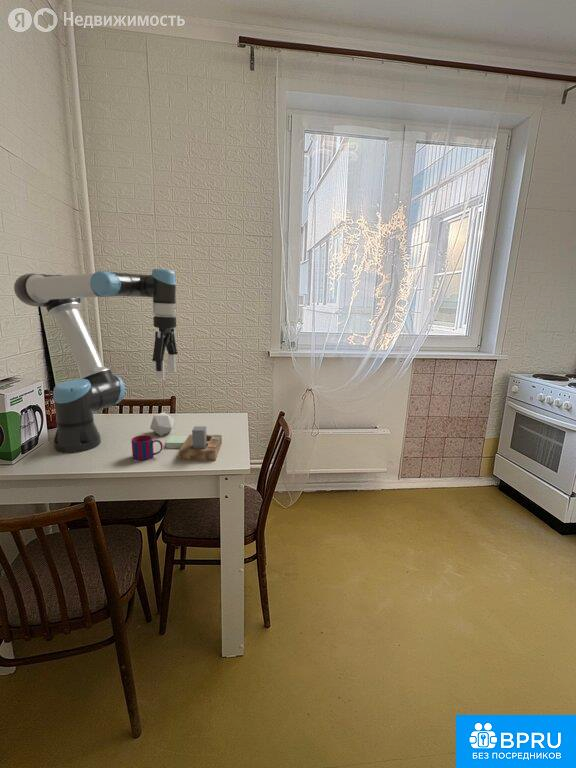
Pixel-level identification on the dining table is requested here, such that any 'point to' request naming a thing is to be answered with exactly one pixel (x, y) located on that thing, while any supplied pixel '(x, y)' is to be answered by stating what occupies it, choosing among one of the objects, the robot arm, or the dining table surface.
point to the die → (162, 423)
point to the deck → (176, 441)
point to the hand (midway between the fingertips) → (166, 375)
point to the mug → (143, 447)
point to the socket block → (201, 454)
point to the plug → (199, 437)
